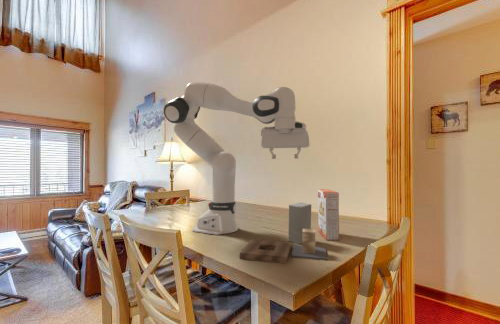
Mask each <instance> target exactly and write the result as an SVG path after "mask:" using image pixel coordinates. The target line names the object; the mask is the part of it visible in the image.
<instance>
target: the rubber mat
mask: <svg viewBox="0 0 500 324" xmlns="http://www.w3.org/2000/svg"><path fill="white" fill-rule="evenodd" d="M291 250H292V251H291V258H298V259H299V258H300V259H308V260H309V259H310V260H319V261H320V260H321V261H328V256H327V255H328V254H327V251H326V250H327V247H326V246H315V254H313V253H302V244H293V248H292V249H291Z"/></svg>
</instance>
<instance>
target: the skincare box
mask: <svg viewBox="0 0 500 324" xmlns="http://www.w3.org/2000/svg"><path fill="white" fill-rule="evenodd" d="M303 229H312V204H311V203H306V202H305V203H304V202H295V203H292V204H288V237H287V238H288V242H290V243H291V242H292V243H294V244H297V245H302V231H303Z"/></svg>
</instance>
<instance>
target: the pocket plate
mask: <svg viewBox="0 0 500 324" xmlns="http://www.w3.org/2000/svg"><path fill="white" fill-rule="evenodd" d="M291 248H292V243H291V242H290V241H288V242H286V241H273V240H261V239H250V240H249V242H248V243H247V244H246V245H245V246H244V248H242V250H241V251H239V259H240V260H241V259H242V260H251V261H252V260H253V261H260V262H262V261H264V262H270V263H271V262H272V263H282V264H287V263H288V259H289V257H290V252H291V250H292V249H291Z"/></svg>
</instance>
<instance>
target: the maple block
mask: <svg viewBox="0 0 500 324" xmlns="http://www.w3.org/2000/svg"><path fill="white" fill-rule="evenodd" d="M301 245H302V253H313V254H315V247H316V229H315V228H314V229H312V228H311V229H303V231H302V244H301Z"/></svg>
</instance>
